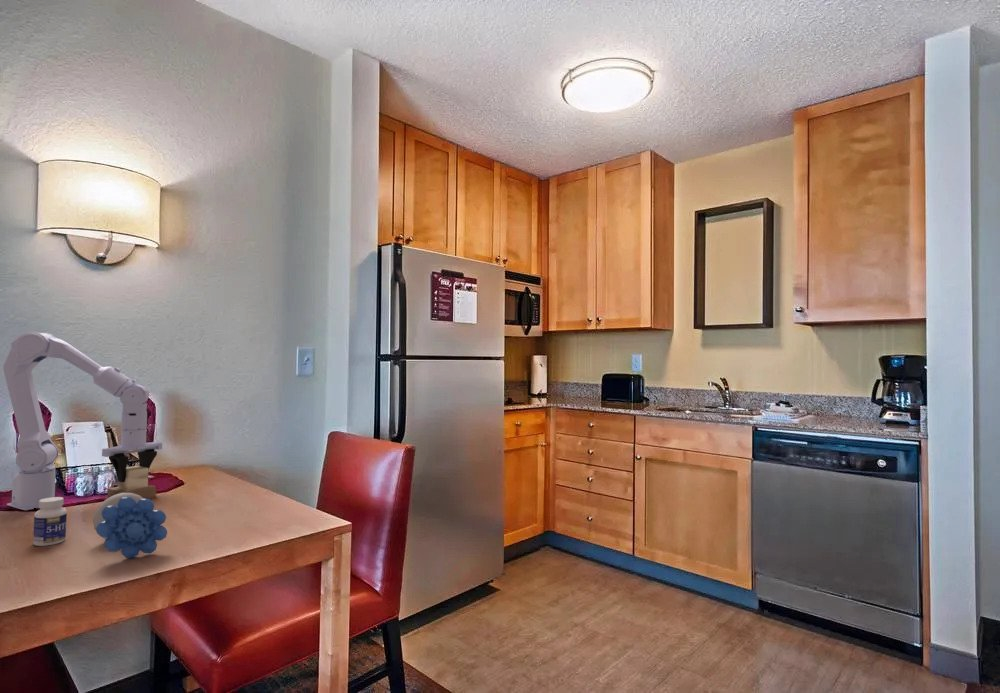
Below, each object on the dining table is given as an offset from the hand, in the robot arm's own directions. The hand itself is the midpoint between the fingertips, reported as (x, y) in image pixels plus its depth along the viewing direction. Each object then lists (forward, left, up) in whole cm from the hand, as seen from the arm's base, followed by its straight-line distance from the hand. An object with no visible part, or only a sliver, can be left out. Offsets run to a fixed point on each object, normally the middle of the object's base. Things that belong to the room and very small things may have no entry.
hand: (132, 479), depth 150 cm
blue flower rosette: (+45, -25, -5) cm, 52 cm away
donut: (+32, -20, -5) cm, 38 cm away
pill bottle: (+21, -28, -5) cm, 35 cm away
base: (0, 0, -5) cm, 5 cm away
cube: (0, 0, -2) cm, 2 cm away
